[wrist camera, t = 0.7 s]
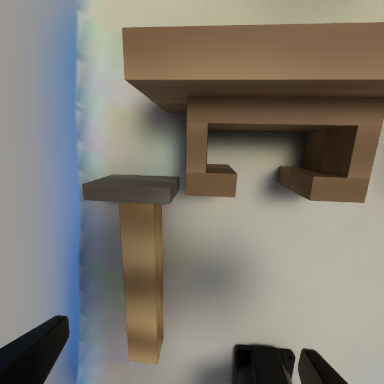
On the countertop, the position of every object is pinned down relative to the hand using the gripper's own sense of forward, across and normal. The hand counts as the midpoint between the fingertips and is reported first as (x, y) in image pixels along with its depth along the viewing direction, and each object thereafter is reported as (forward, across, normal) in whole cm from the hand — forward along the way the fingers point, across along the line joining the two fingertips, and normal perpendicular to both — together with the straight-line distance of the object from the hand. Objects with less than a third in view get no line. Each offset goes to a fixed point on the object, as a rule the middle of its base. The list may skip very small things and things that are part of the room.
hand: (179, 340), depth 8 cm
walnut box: (+12, -4, -7) cm, 15 cm away
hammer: (+13, +5, +6) cm, 15 cm away
